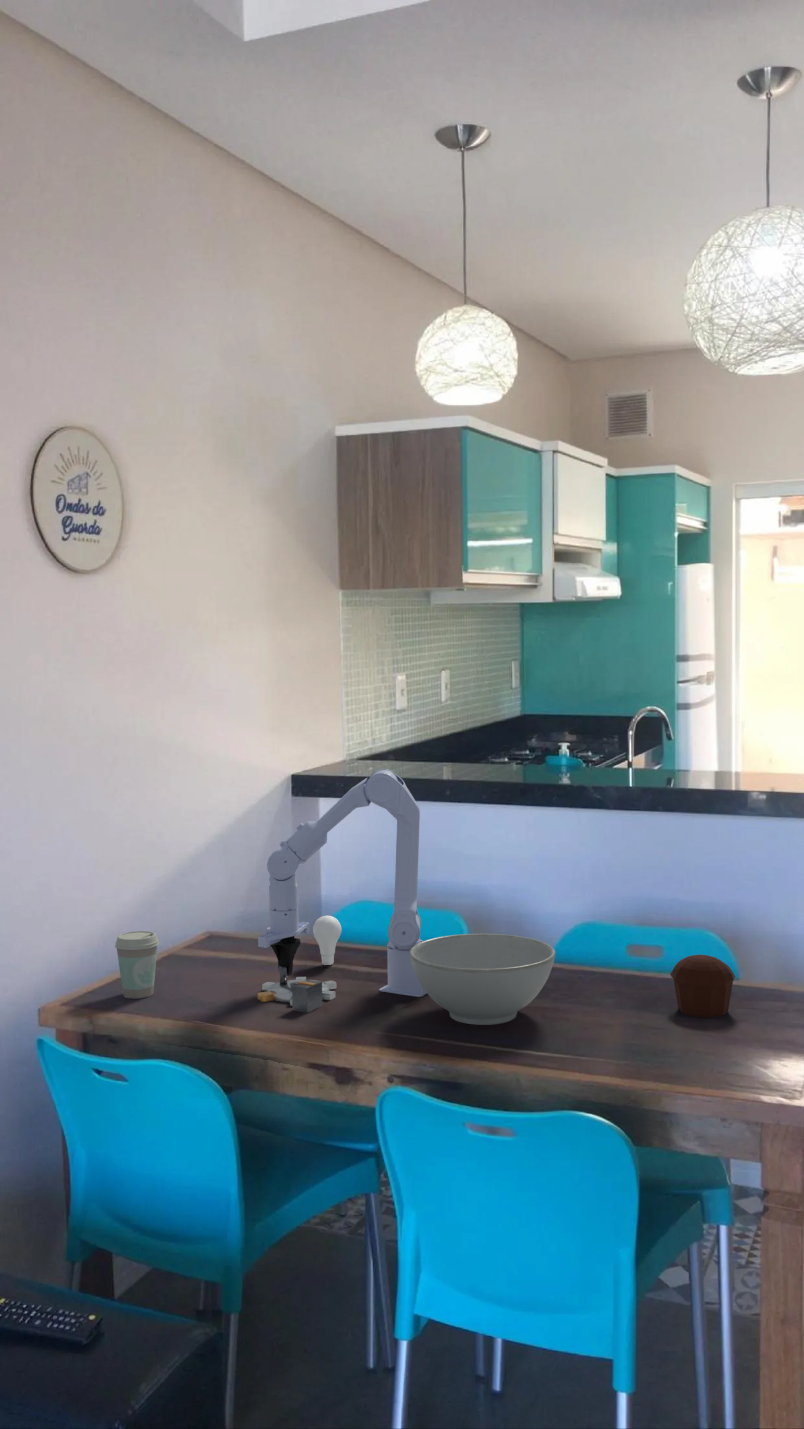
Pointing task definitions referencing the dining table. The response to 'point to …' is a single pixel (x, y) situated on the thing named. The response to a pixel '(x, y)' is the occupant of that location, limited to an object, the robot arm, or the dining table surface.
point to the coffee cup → (137, 962)
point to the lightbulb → (327, 937)
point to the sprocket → (290, 988)
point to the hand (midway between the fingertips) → (285, 975)
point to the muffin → (703, 986)
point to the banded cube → (307, 996)
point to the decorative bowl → (482, 974)
